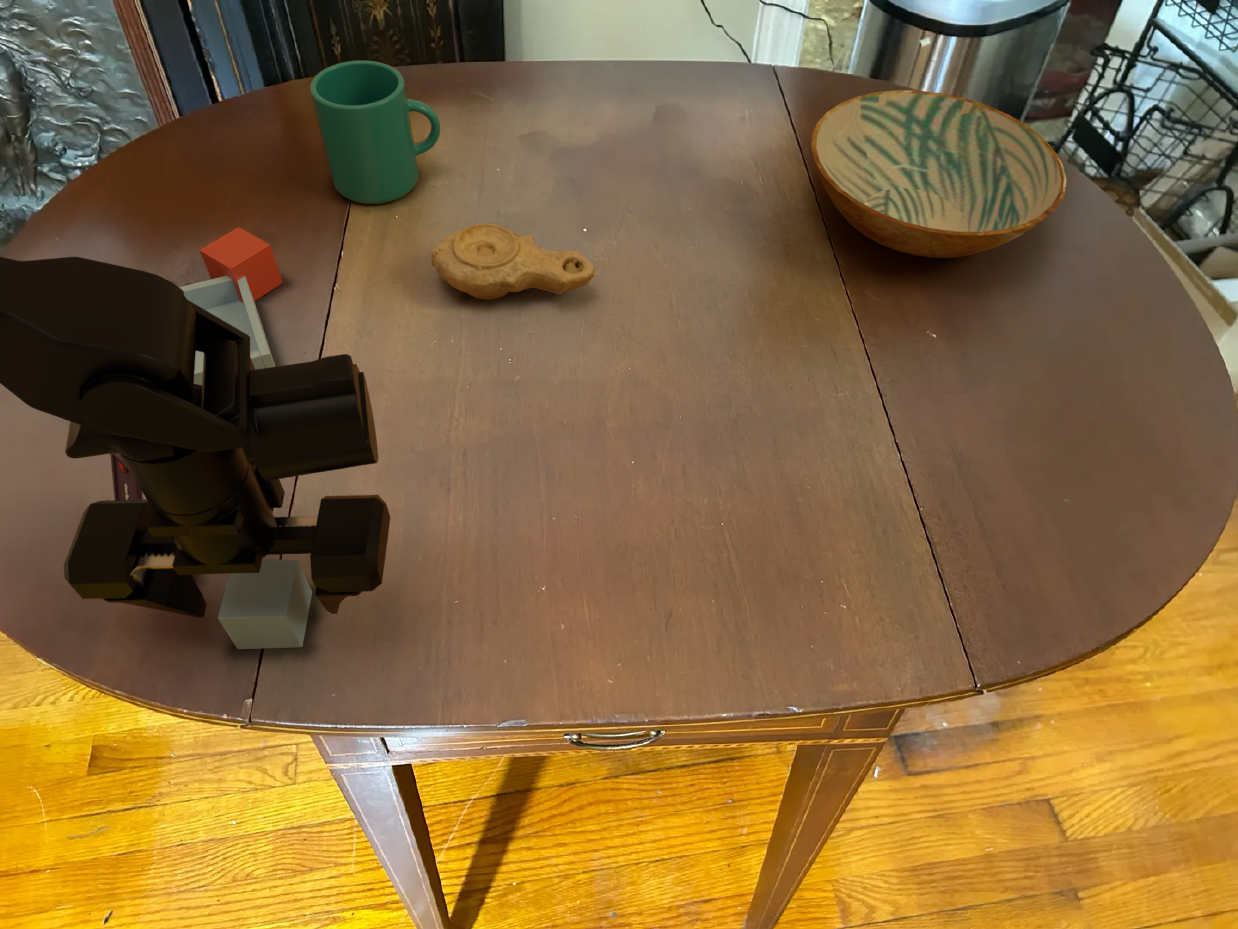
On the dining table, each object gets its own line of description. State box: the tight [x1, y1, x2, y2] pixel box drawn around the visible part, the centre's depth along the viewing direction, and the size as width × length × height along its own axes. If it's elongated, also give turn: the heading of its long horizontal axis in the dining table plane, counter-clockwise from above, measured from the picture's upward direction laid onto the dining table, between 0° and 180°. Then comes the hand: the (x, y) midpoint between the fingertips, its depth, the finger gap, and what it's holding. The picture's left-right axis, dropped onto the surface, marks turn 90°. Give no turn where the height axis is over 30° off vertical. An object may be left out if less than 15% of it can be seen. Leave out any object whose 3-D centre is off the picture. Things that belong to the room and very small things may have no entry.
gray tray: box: [178, 276, 276, 386], centre depth 80 cm, size 14×12×3 cm
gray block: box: [217, 558, 313, 650], centre depth 63 cm, size 4×4×4 cm
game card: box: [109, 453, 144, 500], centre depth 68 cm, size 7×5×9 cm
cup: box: [309, 60, 441, 205], centre depth 94 cm, size 9×12×11 cm
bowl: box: [810, 89, 1068, 259], centre depth 94 cm, size 25×25×8 cm
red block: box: [198, 226, 284, 303], centre depth 85 cm, size 4×4×4 cm
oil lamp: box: [430, 223, 596, 300], centre depth 87 cm, size 11×14×5 cm
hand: (269, 609), depth 64 cm, fingers open, 9 cm apart
